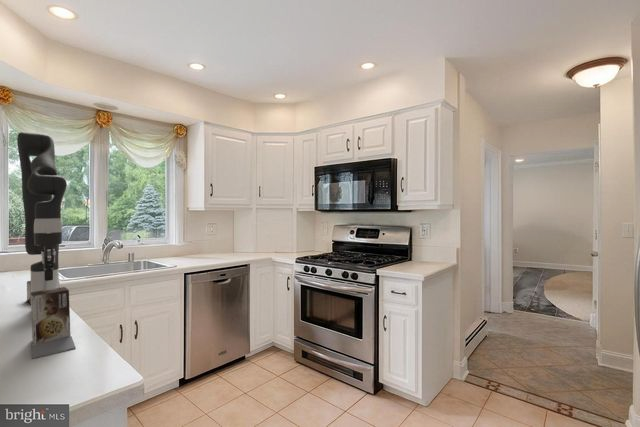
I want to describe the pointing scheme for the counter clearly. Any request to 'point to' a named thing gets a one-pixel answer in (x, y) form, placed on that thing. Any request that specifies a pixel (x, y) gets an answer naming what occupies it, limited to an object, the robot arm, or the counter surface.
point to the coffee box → (50, 314)
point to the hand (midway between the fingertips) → (48, 280)
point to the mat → (52, 347)
